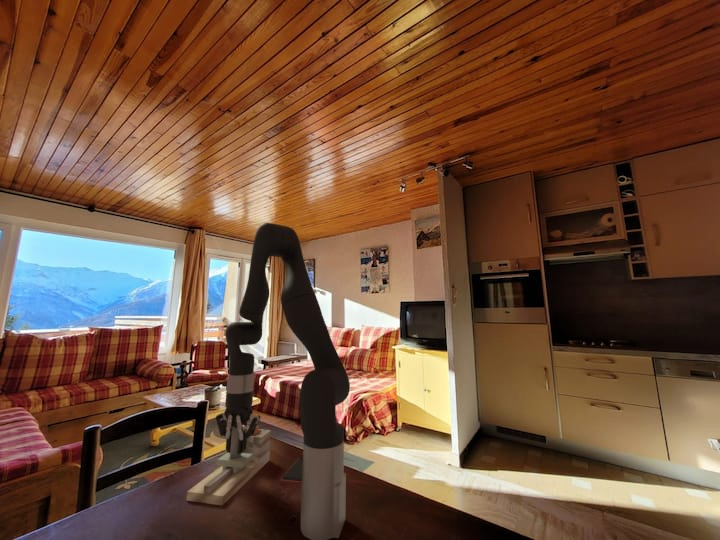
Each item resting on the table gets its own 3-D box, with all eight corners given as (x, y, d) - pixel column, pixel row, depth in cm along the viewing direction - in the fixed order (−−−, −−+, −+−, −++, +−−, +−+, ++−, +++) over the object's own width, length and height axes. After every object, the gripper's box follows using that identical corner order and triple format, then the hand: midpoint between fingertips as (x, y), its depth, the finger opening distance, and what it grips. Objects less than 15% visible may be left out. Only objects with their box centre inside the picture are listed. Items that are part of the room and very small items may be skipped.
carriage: (252, 465, 84) (254, 424, 86) (242, 474, 79) (244, 430, 81) (227, 462, 85) (230, 422, 87) (216, 471, 81) (219, 428, 83)
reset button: (260, 435, 93) (261, 425, 93) (253, 440, 89) (254, 430, 89) (249, 434, 93) (249, 424, 94) (242, 439, 89) (242, 429, 90)
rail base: (269, 460, 92) (270, 430, 93) (222, 505, 69) (225, 464, 71) (240, 457, 94) (243, 427, 95) (186, 500, 71) (190, 460, 73)
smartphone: (319, 458, 93) (302, 482, 79) (319, 460, 93) (302, 484, 79) (299, 456, 94) (279, 479, 80) (298, 458, 94) (279, 481, 80)
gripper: (267, 387, 88) (264, 448, 85) (227, 385, 91) (222, 444, 88) (254, 393, 81) (250, 460, 78) (210, 391, 84) (205, 455, 81)
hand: (235, 451), depth 83 cm, fingers closed on carriage, 3 cm apart
